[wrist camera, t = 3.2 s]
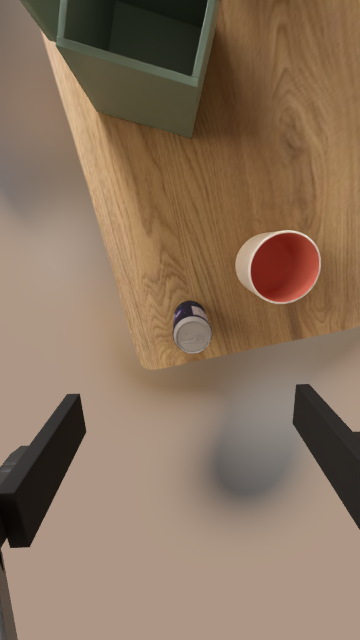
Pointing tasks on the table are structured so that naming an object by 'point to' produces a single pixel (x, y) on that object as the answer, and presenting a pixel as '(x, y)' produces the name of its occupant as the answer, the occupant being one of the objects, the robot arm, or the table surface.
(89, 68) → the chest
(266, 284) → the cup
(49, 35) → the lid
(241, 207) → the table surface
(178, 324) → the beverage can
